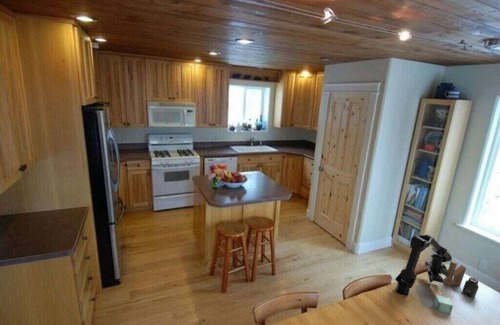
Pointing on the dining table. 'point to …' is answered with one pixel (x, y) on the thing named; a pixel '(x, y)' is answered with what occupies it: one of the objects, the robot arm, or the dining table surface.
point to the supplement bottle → (470, 287)
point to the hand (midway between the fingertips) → (430, 282)
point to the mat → (425, 296)
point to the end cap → (443, 304)
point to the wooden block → (454, 274)
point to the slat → (435, 290)
